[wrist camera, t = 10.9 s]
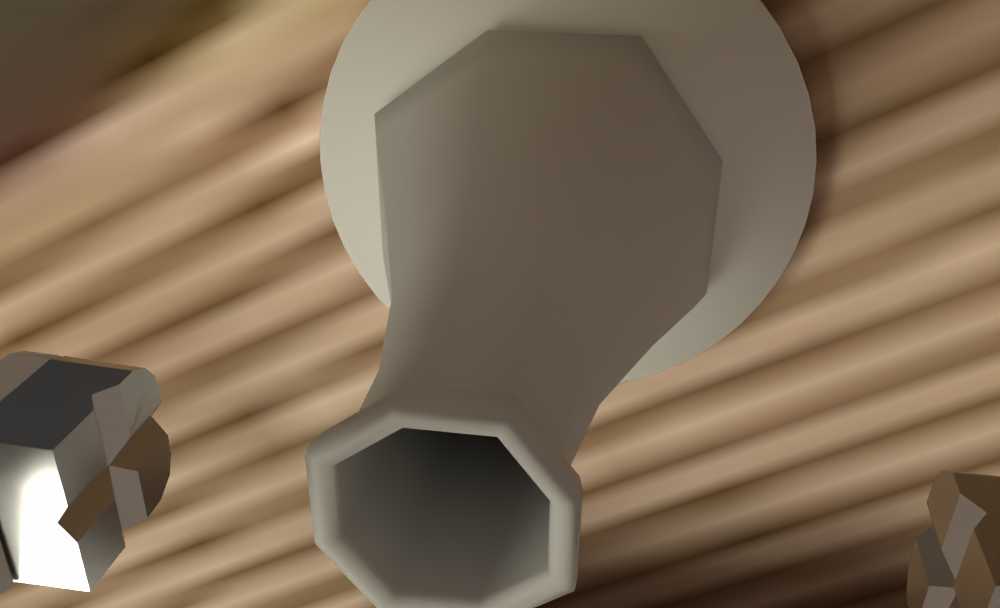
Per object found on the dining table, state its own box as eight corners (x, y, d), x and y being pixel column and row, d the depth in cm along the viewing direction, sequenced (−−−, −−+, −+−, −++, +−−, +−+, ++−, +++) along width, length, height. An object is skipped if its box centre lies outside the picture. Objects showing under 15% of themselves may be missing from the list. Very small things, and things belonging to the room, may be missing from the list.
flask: (679, -32, 17) (693, 136, 8) (758, 315, 19) (833, 723, 11) (321, 79, 19) (13, 312, 10) (441, 379, 21) (285, 765, 13)
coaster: (856, -87, 16) (862, -83, 16) (772, 392, 21) (775, 407, 20) (309, -100, 18) (298, -97, 17) (345, 352, 22) (337, 366, 22)
